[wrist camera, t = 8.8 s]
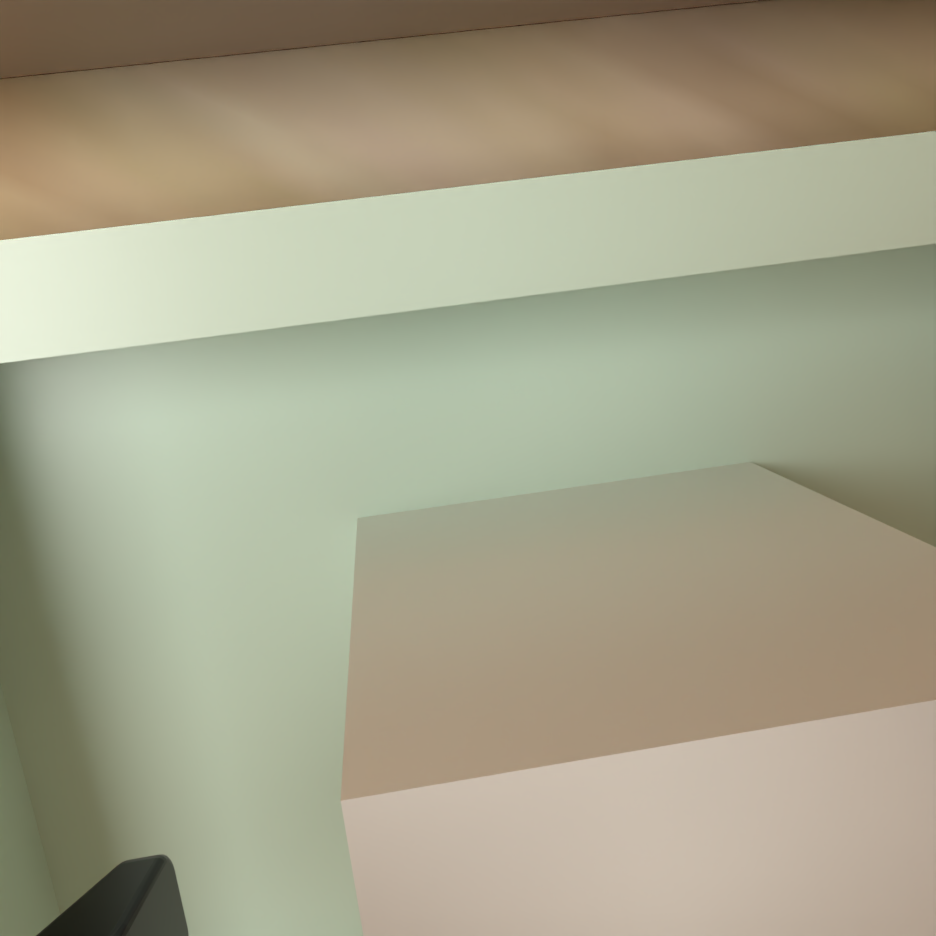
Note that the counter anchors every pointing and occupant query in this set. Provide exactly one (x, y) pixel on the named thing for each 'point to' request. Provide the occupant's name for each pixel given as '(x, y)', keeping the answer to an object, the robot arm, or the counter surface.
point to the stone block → (642, 715)
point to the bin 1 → (255, 26)
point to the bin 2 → (388, 462)
